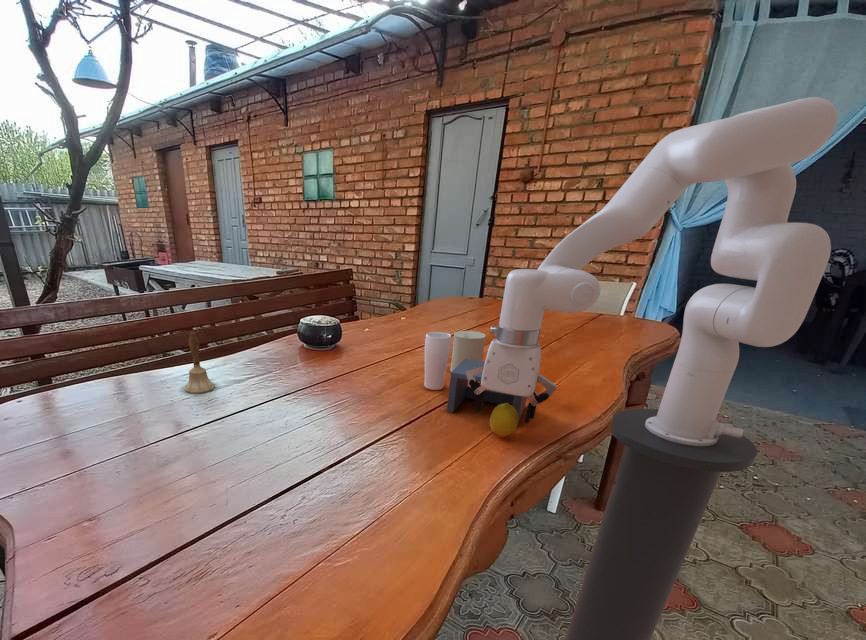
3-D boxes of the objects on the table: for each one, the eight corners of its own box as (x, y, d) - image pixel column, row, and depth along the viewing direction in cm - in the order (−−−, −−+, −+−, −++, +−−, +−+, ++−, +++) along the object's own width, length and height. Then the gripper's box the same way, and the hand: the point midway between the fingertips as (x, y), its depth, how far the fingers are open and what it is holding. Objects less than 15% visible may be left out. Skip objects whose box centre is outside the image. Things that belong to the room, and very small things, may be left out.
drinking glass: (416, 388, 118) (420, 335, 112) (428, 381, 123) (432, 330, 117) (439, 393, 114) (444, 339, 108) (450, 386, 119) (456, 334, 113)
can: (444, 371, 130) (448, 333, 125) (458, 364, 136) (462, 327, 132) (473, 378, 124) (478, 338, 120) (486, 370, 131) (491, 332, 126)
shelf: (524, 407, 105) (532, 368, 101) (516, 426, 96) (524, 384, 92) (460, 395, 113) (464, 358, 109) (446, 411, 103) (450, 372, 99)
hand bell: (218, 382, 124) (211, 328, 117) (209, 393, 116) (202, 336, 110) (190, 382, 124) (181, 328, 118) (180, 393, 116) (170, 336, 110)
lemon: (510, 431, 94) (516, 398, 90) (518, 443, 89) (524, 409, 85) (484, 430, 94) (489, 397, 91) (490, 442, 89) (496, 408, 86)
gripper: (467, 333, 84) (456, 412, 90) (565, 347, 75) (545, 432, 82) (477, 326, 89) (465, 400, 96) (568, 338, 81) (549, 418, 88)
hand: (502, 415), depth 89 cm, fingers open, 9 cm apart
